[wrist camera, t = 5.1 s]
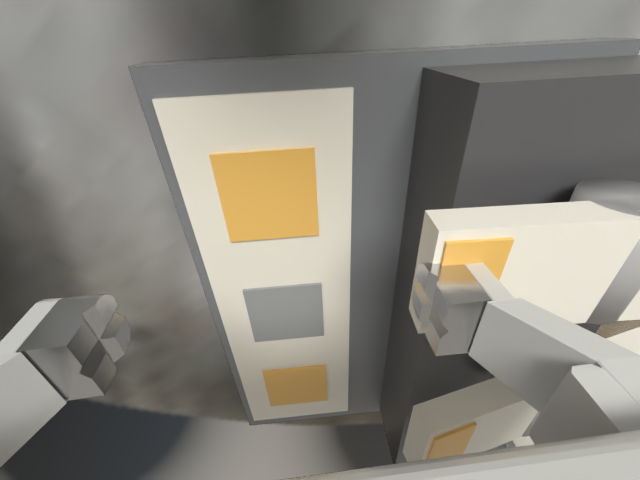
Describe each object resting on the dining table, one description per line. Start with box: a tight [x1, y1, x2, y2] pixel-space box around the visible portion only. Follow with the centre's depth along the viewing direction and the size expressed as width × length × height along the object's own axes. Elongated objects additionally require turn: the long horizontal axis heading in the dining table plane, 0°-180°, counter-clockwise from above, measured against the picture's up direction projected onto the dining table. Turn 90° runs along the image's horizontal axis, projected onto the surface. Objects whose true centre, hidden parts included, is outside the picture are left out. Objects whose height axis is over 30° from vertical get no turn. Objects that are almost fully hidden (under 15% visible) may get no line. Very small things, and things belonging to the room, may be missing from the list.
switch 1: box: [409, 178, 640, 334], centre depth 9 cm, size 11×4×2 cm, turn 92°
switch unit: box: [128, 38, 640, 464], centre depth 16 cm, size 18×24×6 cm
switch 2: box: [402, 327, 640, 462], centre depth 13 cm, size 11×4×2 cm, turn 93°
